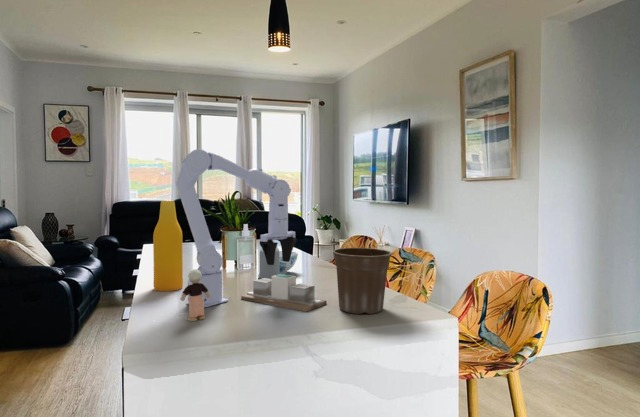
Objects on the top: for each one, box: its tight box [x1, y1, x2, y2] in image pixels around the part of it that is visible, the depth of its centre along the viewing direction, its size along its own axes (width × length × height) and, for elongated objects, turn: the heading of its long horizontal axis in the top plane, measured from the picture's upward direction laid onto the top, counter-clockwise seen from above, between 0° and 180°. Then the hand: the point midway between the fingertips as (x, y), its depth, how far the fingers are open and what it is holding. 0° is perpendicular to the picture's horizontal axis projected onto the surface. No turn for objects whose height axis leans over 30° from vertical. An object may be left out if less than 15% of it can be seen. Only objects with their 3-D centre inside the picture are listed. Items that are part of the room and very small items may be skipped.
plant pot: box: [332, 247, 393, 315], centre depth 125 cm, size 16×16×16 cm
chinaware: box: [279, 250, 299, 275], centre depth 179 cm, size 15×15×8 cm
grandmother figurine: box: [180, 268, 210, 322], centre depth 115 cm, size 8×4×13 cm, turn 141°
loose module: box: [271, 274, 297, 299], centre depth 133 cm, size 4×6×6 cm, turn 56°
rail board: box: [240, 278, 327, 312], centre depth 133 cm, size 10×24×6 cm, turn 56°
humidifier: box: [257, 213, 280, 280], centre depth 154 cm, size 8×8×25 cm
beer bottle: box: [152, 200, 184, 292], centre depth 150 cm, size 9×9×29 cm
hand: (278, 263), depth 139 cm, fingers open, 7 cm apart
